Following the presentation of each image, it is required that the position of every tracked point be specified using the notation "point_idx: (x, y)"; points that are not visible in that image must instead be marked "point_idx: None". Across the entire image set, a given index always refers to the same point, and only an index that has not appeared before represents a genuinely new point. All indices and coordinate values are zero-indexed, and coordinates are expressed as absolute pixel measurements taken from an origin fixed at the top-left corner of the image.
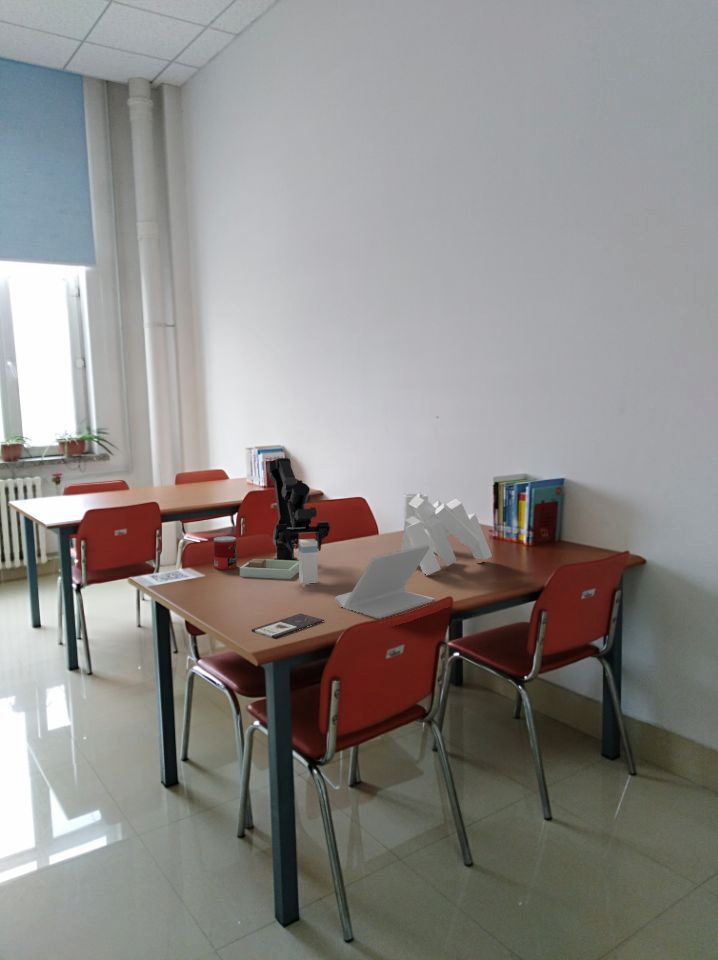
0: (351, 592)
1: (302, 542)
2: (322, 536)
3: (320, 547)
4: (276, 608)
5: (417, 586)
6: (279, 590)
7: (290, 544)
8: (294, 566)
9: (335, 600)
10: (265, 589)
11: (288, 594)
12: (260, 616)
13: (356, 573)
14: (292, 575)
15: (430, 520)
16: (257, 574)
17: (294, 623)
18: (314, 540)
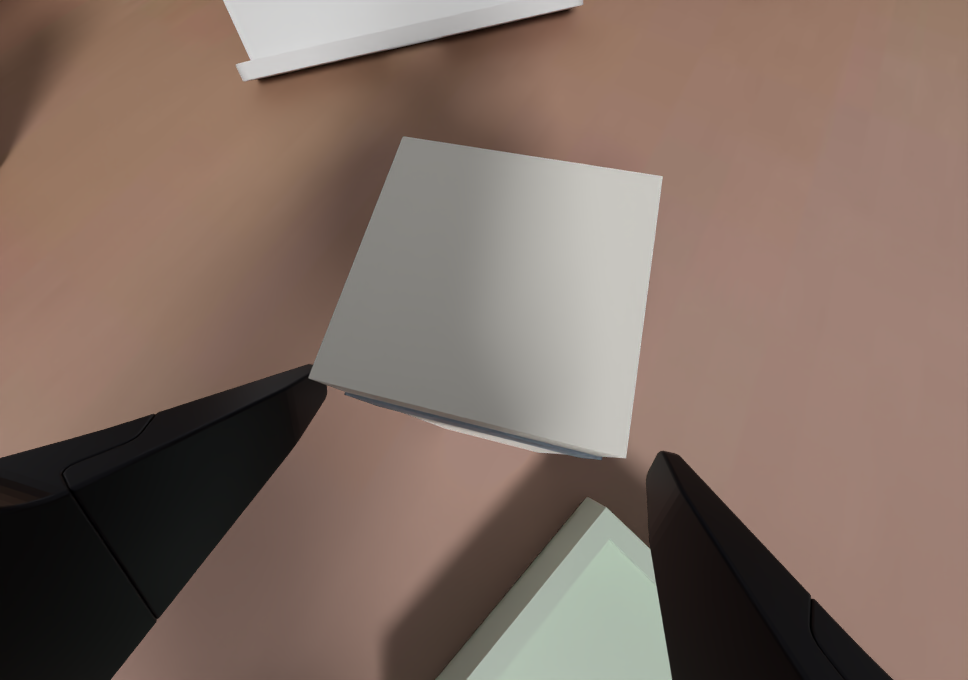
0: (492, 6)
1: (662, 177)
2: (38, 449)
3: (292, 372)
4: (817, 86)
5: (149, 95)
6: (725, 321)
7: (744, 542)
8: (516, 618)
9: (582, 4)
10: (801, 381)
11: (701, 234)
12: (904, 34)
13: None
14: (551, 548)
15: None
16: None
17: None
18: (400, 215)
